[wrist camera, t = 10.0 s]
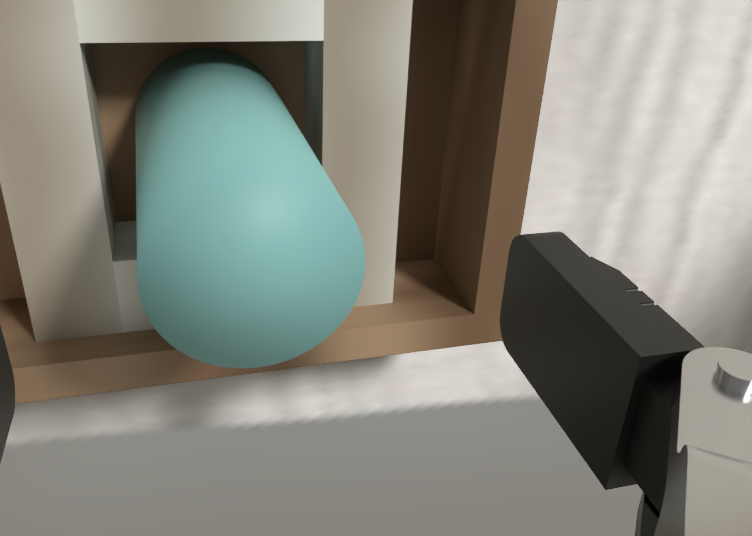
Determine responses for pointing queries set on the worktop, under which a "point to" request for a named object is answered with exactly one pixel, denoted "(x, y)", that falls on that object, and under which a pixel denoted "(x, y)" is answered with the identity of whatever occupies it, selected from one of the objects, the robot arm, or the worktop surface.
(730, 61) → the worktop surface
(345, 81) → the box
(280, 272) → the peg
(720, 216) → the worktop surface
